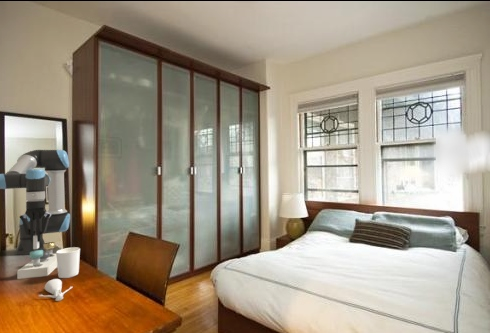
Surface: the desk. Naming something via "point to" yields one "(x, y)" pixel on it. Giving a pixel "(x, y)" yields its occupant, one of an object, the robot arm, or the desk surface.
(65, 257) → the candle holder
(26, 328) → the desk surface
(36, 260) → the knob
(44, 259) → the knob mid
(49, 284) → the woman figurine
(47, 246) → the knob
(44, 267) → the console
